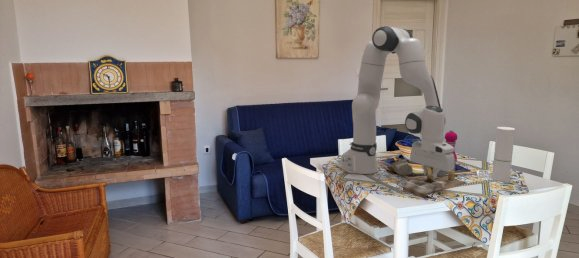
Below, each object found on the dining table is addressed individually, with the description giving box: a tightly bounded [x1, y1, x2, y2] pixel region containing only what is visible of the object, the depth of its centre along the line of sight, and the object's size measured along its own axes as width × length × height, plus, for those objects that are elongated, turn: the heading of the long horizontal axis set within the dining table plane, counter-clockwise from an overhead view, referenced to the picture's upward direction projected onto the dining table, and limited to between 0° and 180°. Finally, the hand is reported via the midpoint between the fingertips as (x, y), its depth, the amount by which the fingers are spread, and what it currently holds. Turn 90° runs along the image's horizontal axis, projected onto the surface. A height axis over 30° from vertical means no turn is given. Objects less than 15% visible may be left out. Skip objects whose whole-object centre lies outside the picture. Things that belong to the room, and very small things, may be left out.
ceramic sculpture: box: [386, 157, 414, 176], centre depth 197 cm, size 11×9×15 cm
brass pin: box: [426, 166, 434, 183], centre depth 174 cm, size 3×3×7 cm
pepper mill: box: [444, 128, 458, 162], centre depth 206 cm, size 7×7×20 cm
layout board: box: [402, 170, 468, 199], centre depth 177 cm, size 12×28×6 cm, turn 123°
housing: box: [434, 159, 457, 177], centre depth 194 cm, size 6×12×8 cm, turn 122°
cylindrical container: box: [491, 126, 516, 184], centre depth 182 cm, size 7×7×25 cm
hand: (430, 176), depth 174 cm, fingers closed on brass pin, 3 cm apart
